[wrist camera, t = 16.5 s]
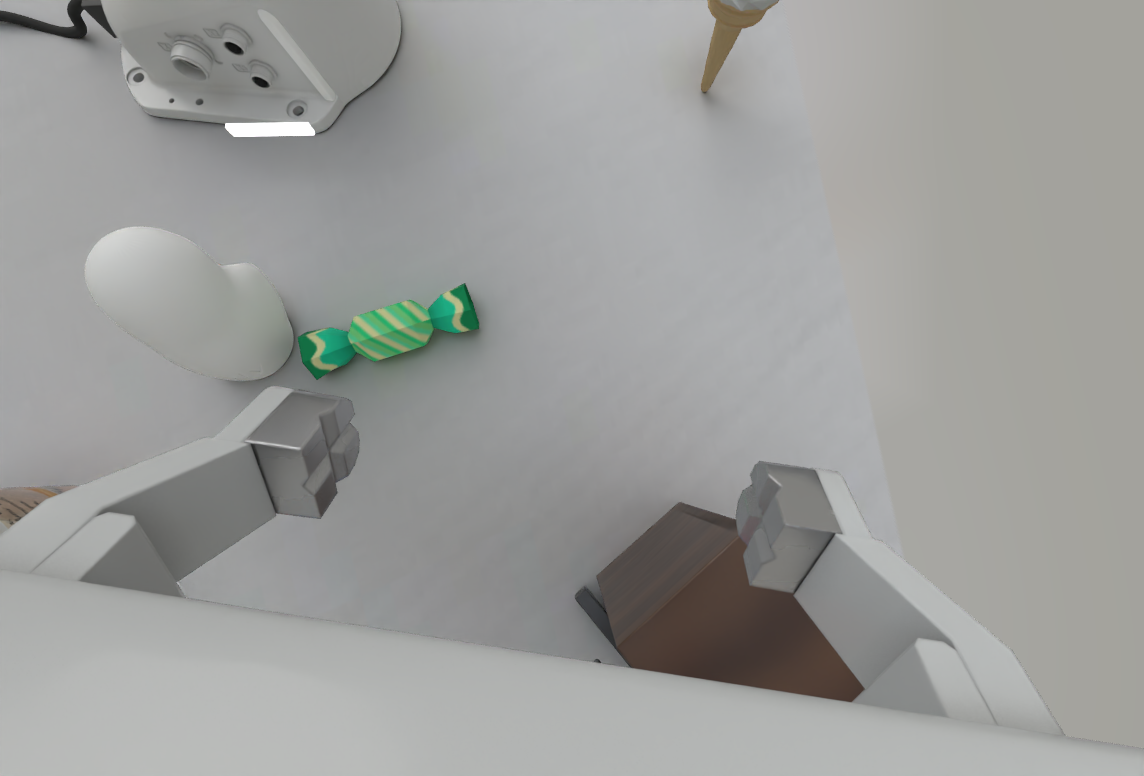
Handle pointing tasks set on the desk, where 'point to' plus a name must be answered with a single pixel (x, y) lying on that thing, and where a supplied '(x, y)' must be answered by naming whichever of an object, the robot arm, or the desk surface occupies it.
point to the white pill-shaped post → (190, 304)
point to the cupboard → (711, 613)
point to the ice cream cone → (729, 30)
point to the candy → (387, 331)
